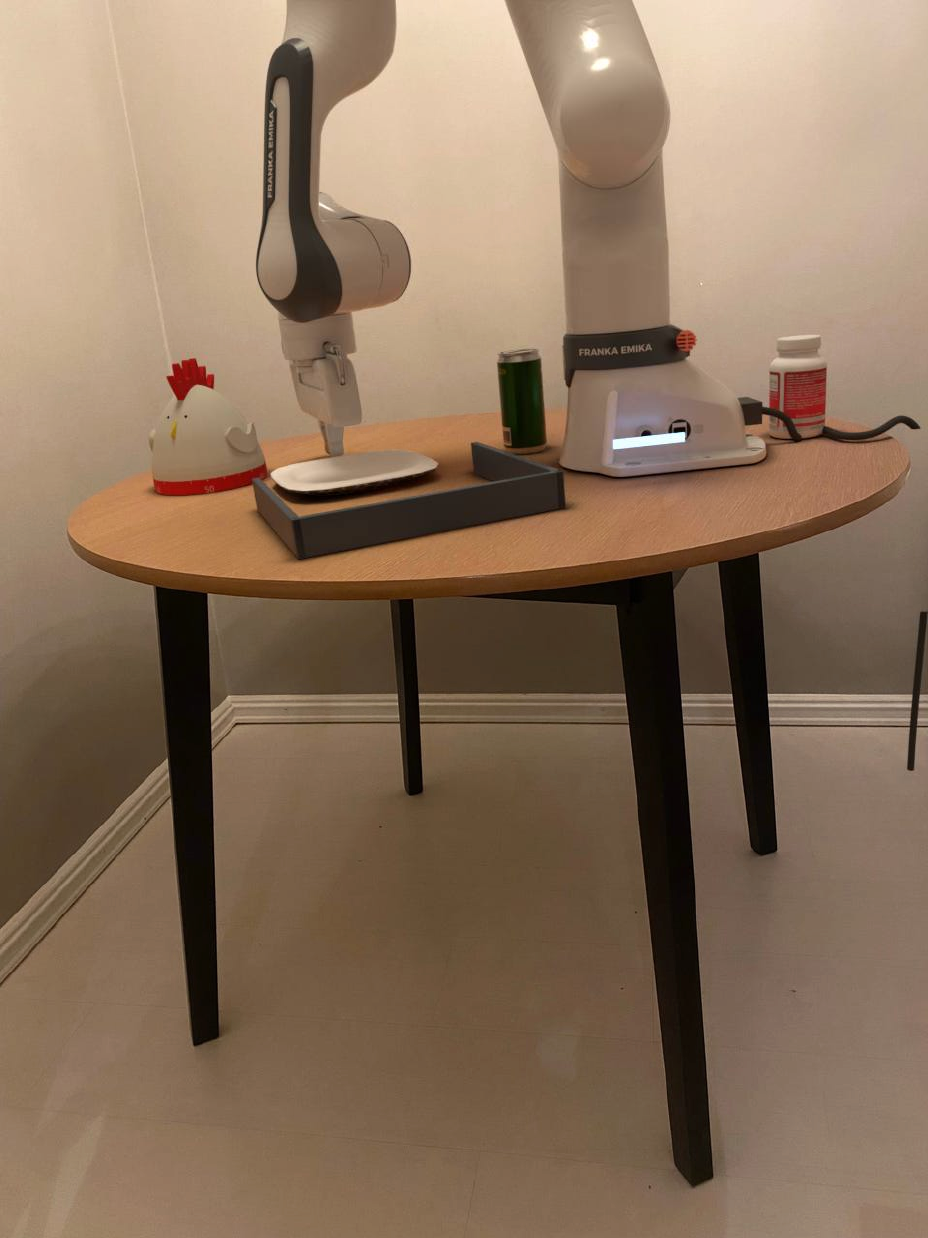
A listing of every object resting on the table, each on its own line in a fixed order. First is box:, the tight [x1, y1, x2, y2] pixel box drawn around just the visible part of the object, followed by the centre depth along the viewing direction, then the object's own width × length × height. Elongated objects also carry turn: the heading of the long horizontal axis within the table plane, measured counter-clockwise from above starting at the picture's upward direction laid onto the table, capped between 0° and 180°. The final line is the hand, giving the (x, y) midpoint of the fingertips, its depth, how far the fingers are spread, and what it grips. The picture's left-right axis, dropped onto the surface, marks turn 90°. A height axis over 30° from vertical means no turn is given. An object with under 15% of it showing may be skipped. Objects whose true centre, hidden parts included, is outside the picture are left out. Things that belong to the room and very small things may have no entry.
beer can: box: [496, 348, 548, 455], centre depth 115 cm, size 5×5×12 cm
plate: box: [270, 448, 439, 497], centre depth 109 cm, size 18×18×2 cm
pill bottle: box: [768, 334, 828, 440], centre depth 108 cm, size 6×6×11 cm
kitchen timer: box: [148, 357, 269, 496], centre depth 115 cm, size 14×14×15 cm
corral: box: [252, 441, 567, 560], centre depth 93 cm, size 22×26×4 cm
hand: (335, 454), depth 118 cm, fingers closed
